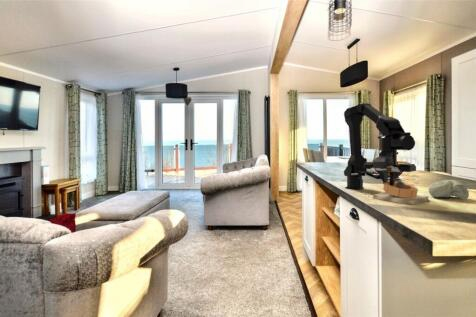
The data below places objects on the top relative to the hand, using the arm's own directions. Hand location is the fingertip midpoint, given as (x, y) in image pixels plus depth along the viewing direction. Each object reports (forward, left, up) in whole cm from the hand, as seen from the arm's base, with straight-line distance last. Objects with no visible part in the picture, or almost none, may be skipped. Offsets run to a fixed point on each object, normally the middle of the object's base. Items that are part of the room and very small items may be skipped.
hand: (388, 187), depth 116 cm
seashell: (+15, +17, -5) cm, 23 cm away
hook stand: (+5, 0, -4) cm, 6 cm away
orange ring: (+4, 0, -2) cm, 5 cm away
